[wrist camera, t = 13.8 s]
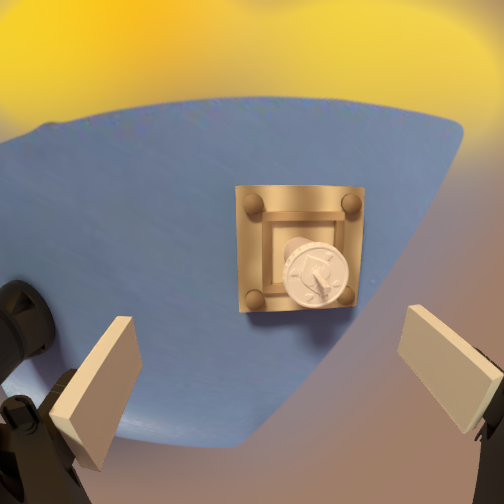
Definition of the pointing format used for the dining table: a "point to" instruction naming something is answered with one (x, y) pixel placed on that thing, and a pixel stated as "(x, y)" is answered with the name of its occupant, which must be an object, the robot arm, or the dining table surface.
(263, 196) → the base brick
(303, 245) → the smoothie
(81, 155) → the dining table surface
